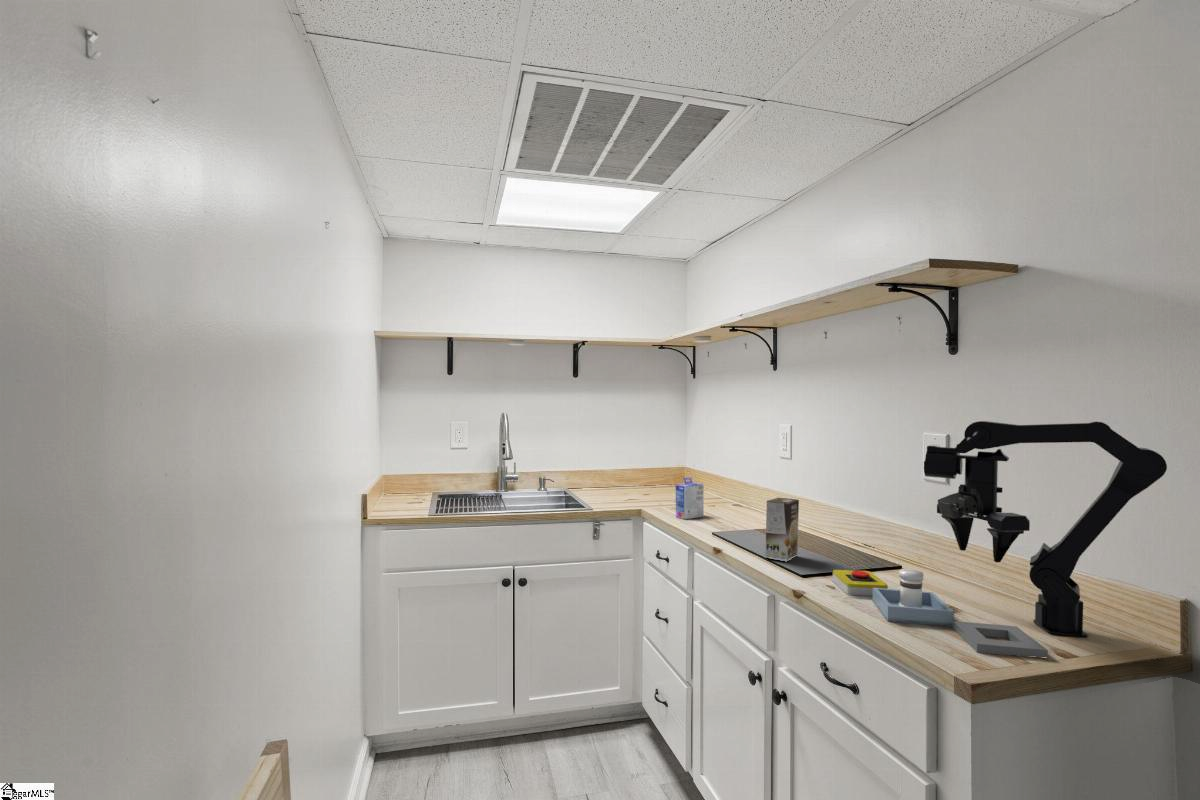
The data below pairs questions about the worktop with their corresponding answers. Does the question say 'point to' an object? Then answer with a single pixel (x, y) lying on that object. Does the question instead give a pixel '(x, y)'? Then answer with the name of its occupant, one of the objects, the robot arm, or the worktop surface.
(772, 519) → the coffee box
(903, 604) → the frosted globe bulb
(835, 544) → the worktop surface
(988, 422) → the robot arm
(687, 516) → the ink cartridge box
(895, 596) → the parts tray
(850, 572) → the emergency button
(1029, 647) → the grey square frame
